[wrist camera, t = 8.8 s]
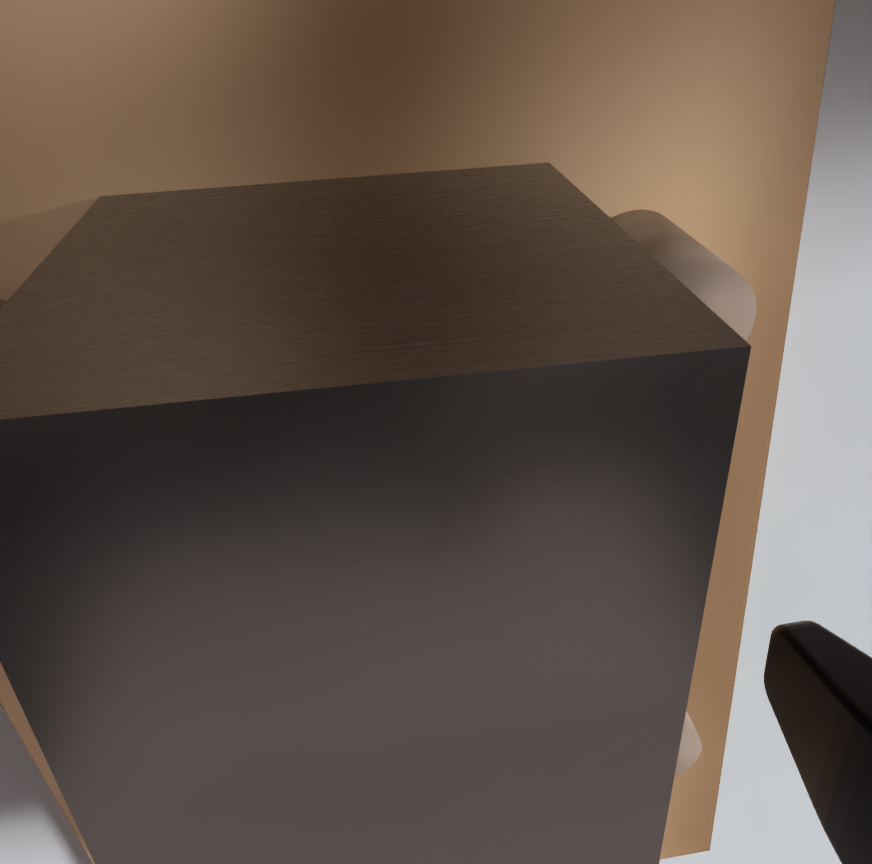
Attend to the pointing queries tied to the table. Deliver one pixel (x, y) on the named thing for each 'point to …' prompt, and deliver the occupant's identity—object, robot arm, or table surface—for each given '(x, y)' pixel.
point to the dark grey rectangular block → (361, 521)
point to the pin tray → (457, 149)
